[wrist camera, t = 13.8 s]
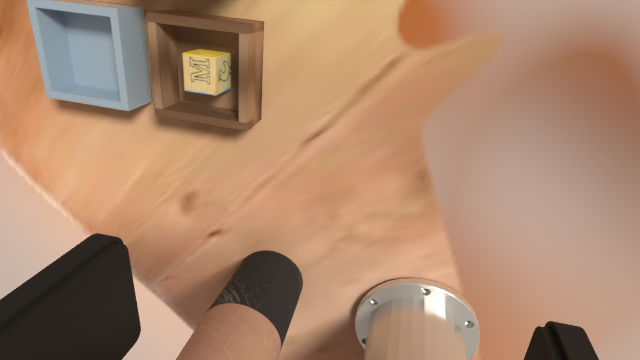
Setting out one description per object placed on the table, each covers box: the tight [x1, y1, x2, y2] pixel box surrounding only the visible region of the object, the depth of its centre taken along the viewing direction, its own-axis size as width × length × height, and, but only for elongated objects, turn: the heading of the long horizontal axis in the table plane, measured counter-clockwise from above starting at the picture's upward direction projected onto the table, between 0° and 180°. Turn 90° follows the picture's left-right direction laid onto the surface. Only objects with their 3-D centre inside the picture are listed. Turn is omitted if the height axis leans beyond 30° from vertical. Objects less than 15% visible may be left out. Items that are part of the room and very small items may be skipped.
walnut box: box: [146, 10, 264, 131], centre depth 34 cm, size 8×8×4 cm
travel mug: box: [176, 251, 303, 360], centre depth 36 cm, size 8×8×20 cm
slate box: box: [27, 0, 152, 111], centre depth 36 cm, size 8×8×4 cm
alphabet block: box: [182, 49, 231, 96], centre depth 34 cm, size 3×3×3 cm
